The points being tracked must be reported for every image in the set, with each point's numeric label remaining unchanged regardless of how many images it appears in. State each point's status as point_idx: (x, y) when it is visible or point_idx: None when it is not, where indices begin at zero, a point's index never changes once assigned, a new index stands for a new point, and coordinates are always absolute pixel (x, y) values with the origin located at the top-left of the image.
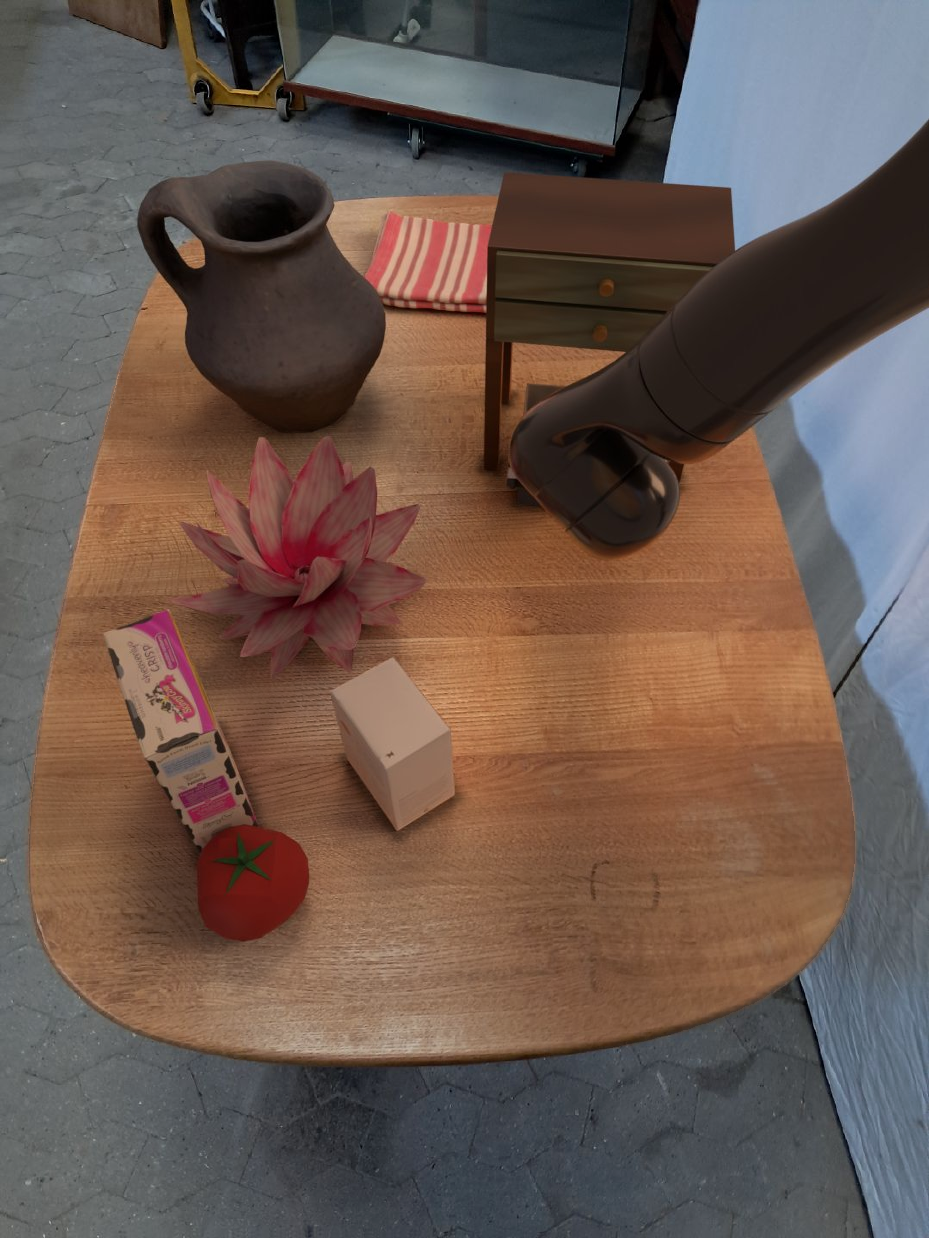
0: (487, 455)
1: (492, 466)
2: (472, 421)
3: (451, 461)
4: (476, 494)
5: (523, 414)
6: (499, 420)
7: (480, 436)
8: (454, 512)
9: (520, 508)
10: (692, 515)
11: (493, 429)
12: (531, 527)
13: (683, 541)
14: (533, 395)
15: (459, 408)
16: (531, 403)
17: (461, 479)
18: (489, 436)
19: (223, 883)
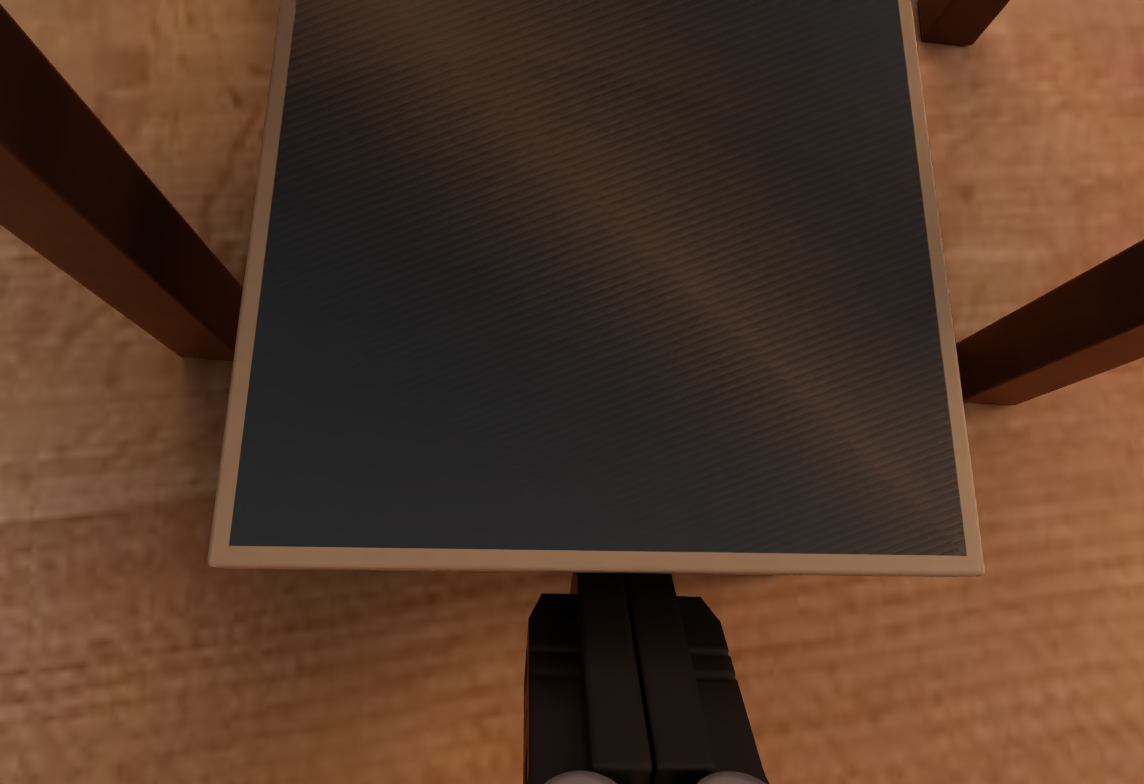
0: (160, 328)
1: (214, 353)
2: (142, 80)
3: (29, 318)
4: (141, 518)
5: (258, 170)
6: (95, 221)
7: (175, 163)
8: (22, 651)
9: (352, 589)
10: (1088, 555)
11: (97, 256)
12: (404, 710)
13: (1074, 717)
14: (329, 7)
15: (86, 10)
16: (315, 73)
17: (71, 427)
18: (103, 279)
19: None
